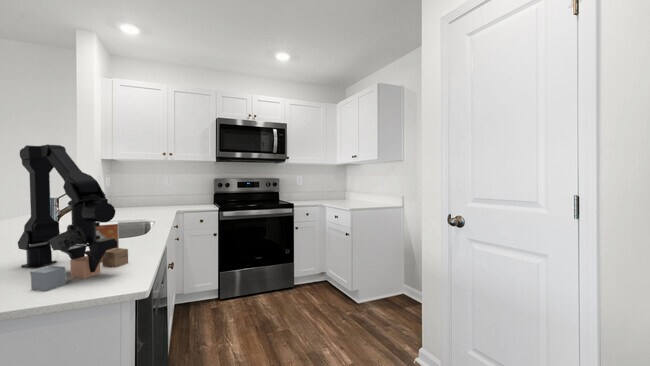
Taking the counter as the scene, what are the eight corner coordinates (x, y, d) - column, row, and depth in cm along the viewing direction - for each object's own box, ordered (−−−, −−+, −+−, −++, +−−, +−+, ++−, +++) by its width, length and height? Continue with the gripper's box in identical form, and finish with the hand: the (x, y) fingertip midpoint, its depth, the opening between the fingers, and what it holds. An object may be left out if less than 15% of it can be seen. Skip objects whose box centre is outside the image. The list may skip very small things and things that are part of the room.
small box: (90, 263, 103) (89, 225, 102) (92, 259, 108) (90, 223, 108) (119, 259, 107) (118, 223, 107) (119, 255, 113) (118, 221, 112)
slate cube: (31, 290, 81) (30, 271, 80) (52, 283, 85) (51, 265, 85) (45, 291, 79) (44, 273, 79) (66, 284, 84) (65, 267, 84)
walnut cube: (102, 266, 100) (102, 251, 100) (116, 262, 105) (116, 248, 105) (115, 267, 99) (114, 252, 99) (128, 263, 104) (127, 248, 103)
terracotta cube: (70, 276, 90) (70, 260, 90) (87, 271, 95) (87, 255, 95) (84, 278, 89) (83, 261, 89) (100, 272, 94) (99, 256, 94)
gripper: (29, 223, 86) (31, 278, 86) (81, 226, 81) (83, 283, 82) (70, 217, 97) (72, 266, 97) (118, 219, 92) (119, 270, 93)
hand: (85, 271), depth 92 cm, fingers closed on terracotta cube, 5 cm apart
